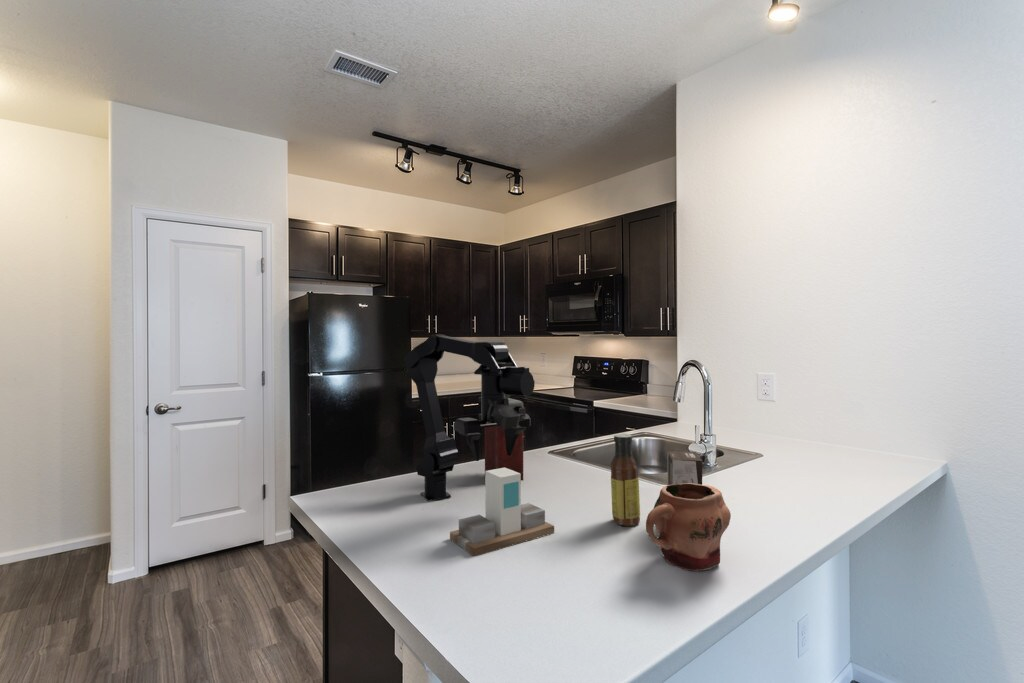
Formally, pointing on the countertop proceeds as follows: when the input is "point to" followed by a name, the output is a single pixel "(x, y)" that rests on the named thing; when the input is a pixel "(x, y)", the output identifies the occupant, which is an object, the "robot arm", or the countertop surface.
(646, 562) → the countertop surface
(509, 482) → the block
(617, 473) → the sauce bottle
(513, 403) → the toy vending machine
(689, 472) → the coffee box
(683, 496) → the terracotta clay mug
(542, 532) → the rail board
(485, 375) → the robot arm
